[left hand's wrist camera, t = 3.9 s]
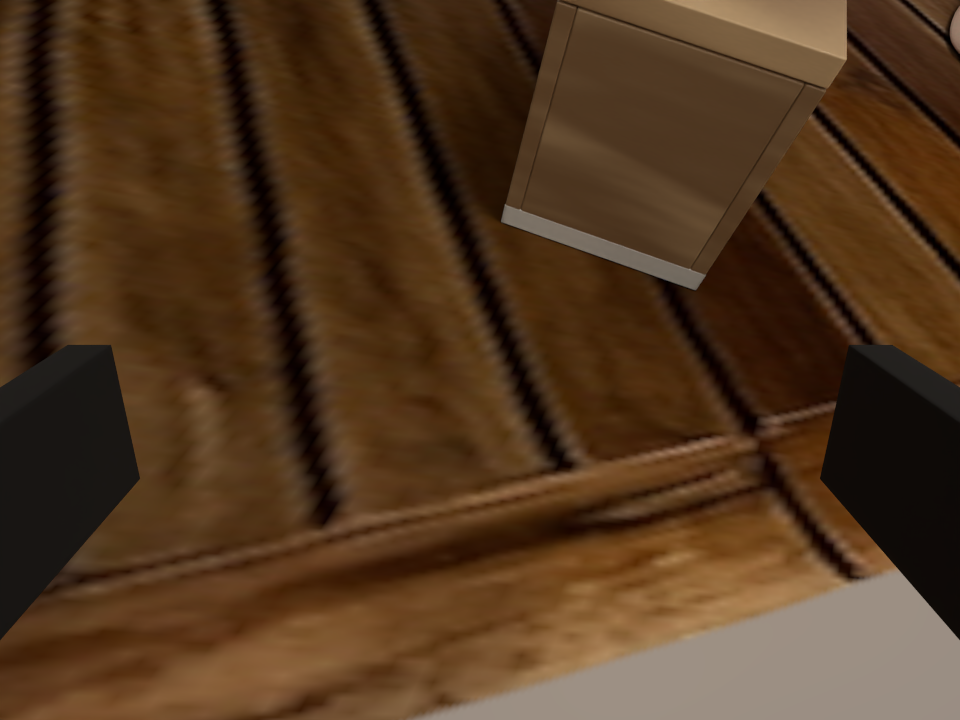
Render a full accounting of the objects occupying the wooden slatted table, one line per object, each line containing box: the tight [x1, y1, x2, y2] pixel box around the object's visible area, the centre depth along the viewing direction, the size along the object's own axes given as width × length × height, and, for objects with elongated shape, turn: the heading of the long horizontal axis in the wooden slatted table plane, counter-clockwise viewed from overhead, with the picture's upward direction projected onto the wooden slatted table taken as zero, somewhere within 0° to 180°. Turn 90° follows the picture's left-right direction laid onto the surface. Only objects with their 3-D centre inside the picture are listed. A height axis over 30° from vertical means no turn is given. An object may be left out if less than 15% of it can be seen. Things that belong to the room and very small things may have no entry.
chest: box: [501, 0, 826, 290], centre depth 31 cm, size 13×10×11 cm
